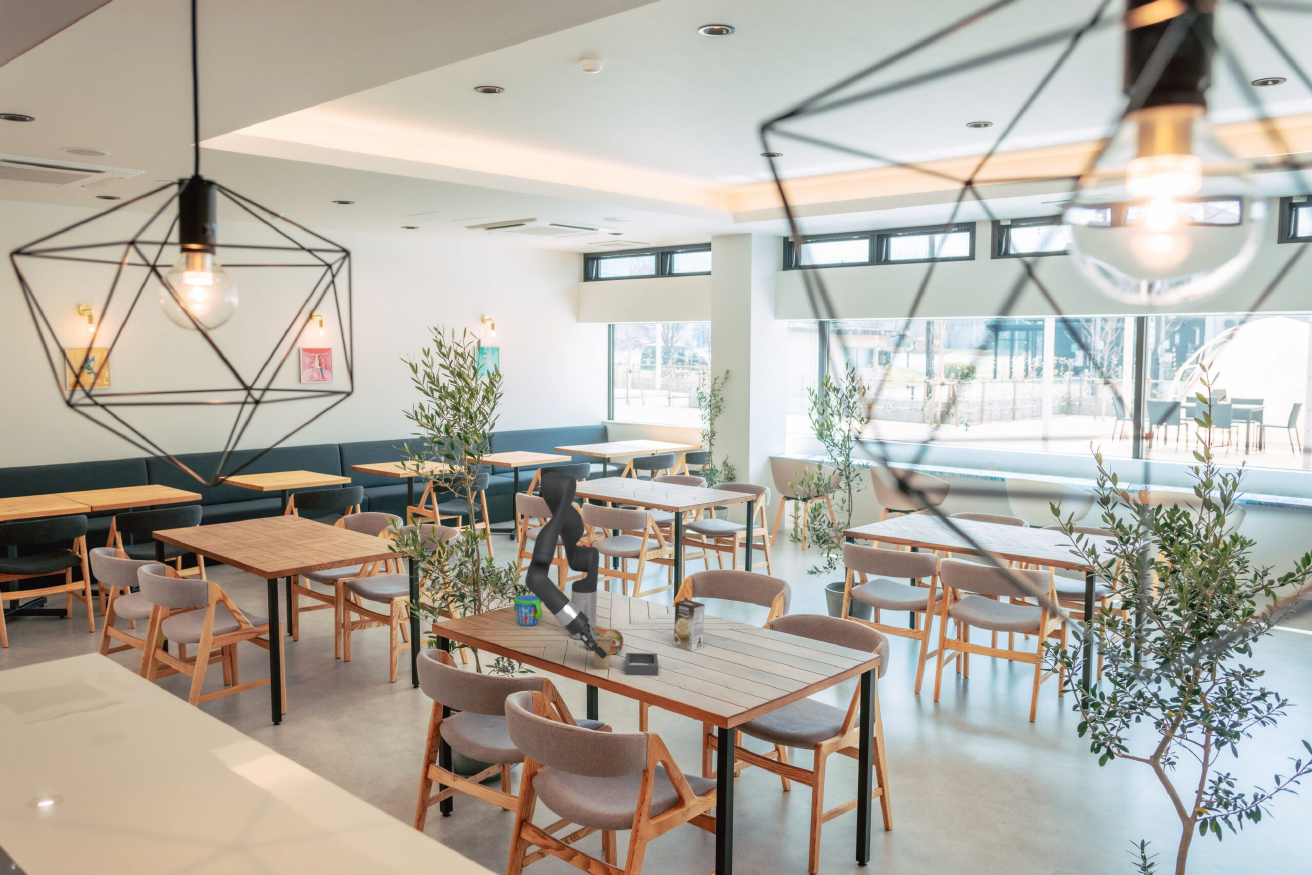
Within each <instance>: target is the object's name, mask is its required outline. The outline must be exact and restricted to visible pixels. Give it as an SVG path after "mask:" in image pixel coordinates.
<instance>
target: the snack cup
mask: <svg viewBox="0 0 1312 875" xmlns="http://www.w3.org/2000/svg"><path fill="white" fill-rule="evenodd" d="M513 602H514V605H513V610H514V612H516V613H515V614H516V620H517V624H518V625H519V626H523V627H531V626H534V625H537V624H538V622H539V620H540V619H542V618H543V610H542V605H541V604H542V603H543V602H542V601H541V600H540V599H539V598H538V597H537V596H536V595H535V594H525V595H518V596H514V598H513Z"/></svg>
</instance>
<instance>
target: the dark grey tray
mask: <svg viewBox="0 0 1312 875" xmlns="http://www.w3.org/2000/svg"><path fill="white" fill-rule="evenodd" d="M658 660H659V659H658V653H650V652H649V653H647V652H646V653H645V652H644V653H643V652H626V653H625V676H657V677H658V676H659V661H658Z"/></svg>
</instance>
